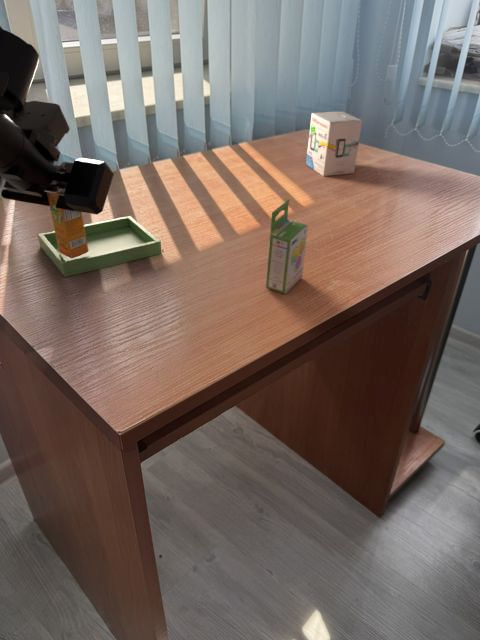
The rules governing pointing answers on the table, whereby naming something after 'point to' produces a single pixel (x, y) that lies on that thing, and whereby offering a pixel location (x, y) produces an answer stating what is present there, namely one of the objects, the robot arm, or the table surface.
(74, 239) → the supplement box
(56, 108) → the robot arm
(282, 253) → the ink box
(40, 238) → the green tray
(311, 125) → the ink box
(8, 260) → the table surface
